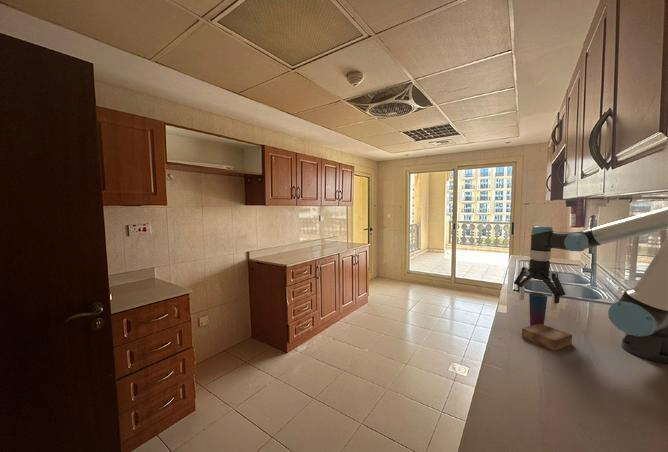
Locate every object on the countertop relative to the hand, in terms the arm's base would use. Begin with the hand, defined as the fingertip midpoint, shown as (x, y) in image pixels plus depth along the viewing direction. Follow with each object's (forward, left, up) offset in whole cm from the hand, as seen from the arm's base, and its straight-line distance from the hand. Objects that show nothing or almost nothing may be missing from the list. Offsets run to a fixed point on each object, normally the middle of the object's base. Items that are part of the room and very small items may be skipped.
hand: (536, 304), depth 125 cm
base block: (-10, +12, -10) cm, 19 cm away
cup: (0, 0, -10) cm, 10 cm away
